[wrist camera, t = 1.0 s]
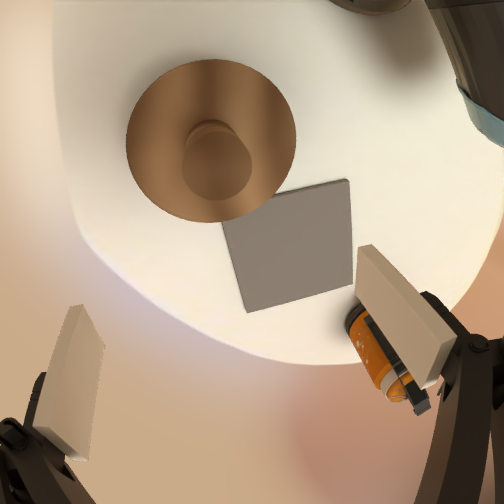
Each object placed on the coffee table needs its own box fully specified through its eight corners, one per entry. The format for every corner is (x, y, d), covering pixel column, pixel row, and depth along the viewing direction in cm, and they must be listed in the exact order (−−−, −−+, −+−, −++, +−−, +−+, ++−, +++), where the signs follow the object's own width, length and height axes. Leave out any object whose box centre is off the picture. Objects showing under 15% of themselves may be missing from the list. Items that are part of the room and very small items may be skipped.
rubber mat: (346, 178, 37) (349, 180, 37) (350, 280, 46) (352, 283, 45) (218, 208, 37) (219, 211, 36) (246, 309, 45) (246, 313, 44)
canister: (353, 342, 54) (400, 433, 37) (331, 308, 48) (386, 413, 31) (395, 316, 52) (451, 400, 35) (379, 277, 47) (449, 372, 30)
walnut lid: (277, 46, 23) (312, 33, 16) (302, 198, 31) (338, 240, 23) (109, 88, 23) (72, 93, 15) (156, 235, 31) (145, 290, 23)
